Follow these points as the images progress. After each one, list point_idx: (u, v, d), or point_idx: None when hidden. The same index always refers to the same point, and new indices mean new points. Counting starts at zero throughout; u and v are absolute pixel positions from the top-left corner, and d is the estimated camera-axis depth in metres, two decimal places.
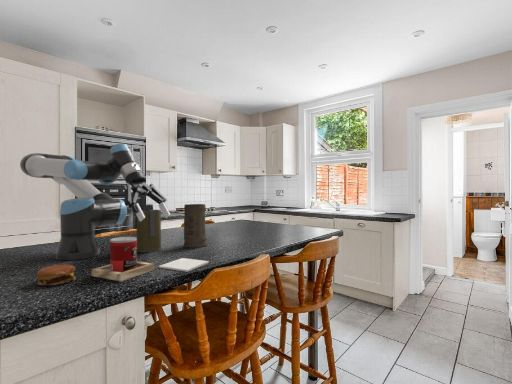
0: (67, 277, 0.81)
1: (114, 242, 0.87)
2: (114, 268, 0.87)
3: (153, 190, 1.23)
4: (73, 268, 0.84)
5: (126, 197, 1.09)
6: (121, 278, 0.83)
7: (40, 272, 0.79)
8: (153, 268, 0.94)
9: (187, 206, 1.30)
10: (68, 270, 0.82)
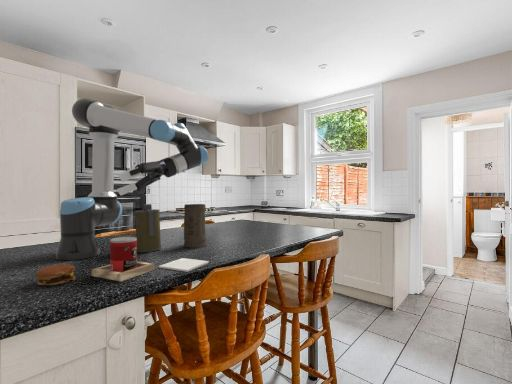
0: (67, 277, 0.81)
1: (114, 242, 0.87)
2: (114, 268, 0.87)
3: None
4: (73, 268, 0.84)
5: (149, 165, 1.00)
6: (121, 278, 0.83)
7: (40, 272, 0.79)
8: (153, 268, 0.94)
9: (187, 206, 1.30)
10: (68, 270, 0.82)
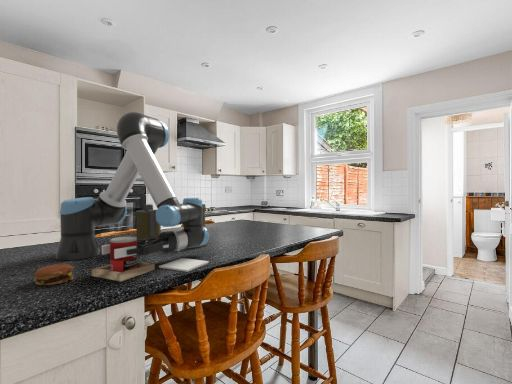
0: (65, 277, 0.81)
1: (114, 242, 0.87)
2: (114, 268, 0.88)
3: None
4: (71, 268, 0.84)
5: (152, 249, 0.91)
6: (121, 278, 0.83)
7: (38, 272, 0.80)
8: (153, 268, 0.94)
9: None
10: (66, 270, 0.82)
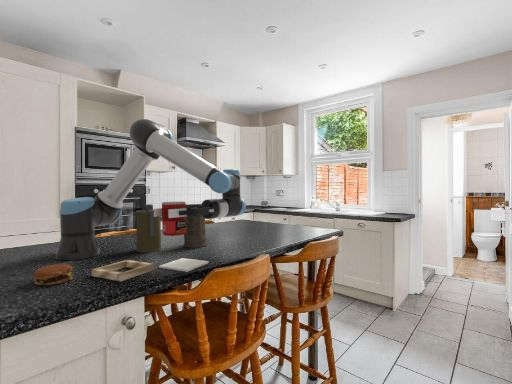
0: (64, 277, 0.81)
1: (167, 203, 0.93)
2: (167, 228, 0.94)
3: None
4: (70, 268, 0.84)
5: (200, 211, 0.97)
6: (121, 278, 0.83)
7: (37, 272, 0.80)
8: (153, 268, 0.94)
9: None
10: (65, 270, 0.82)
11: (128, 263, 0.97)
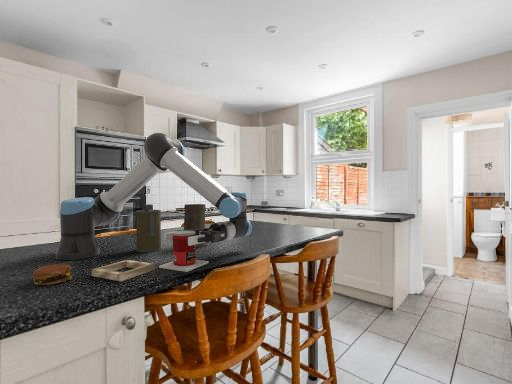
0: (63, 277, 0.82)
1: (178, 235, 0.96)
2: (178, 259, 0.96)
3: None
4: (69, 268, 0.84)
5: (216, 237, 0.99)
6: (121, 278, 0.83)
7: (36, 272, 0.80)
8: (153, 268, 0.94)
9: (187, 206, 1.30)
10: (64, 270, 0.82)
11: (128, 263, 0.97)
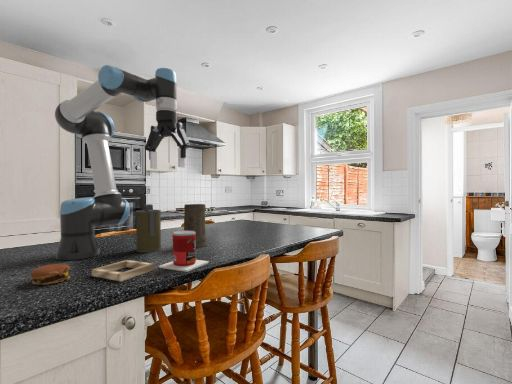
0: (61, 277, 0.82)
1: (178, 235, 0.96)
2: (178, 259, 0.96)
3: None
4: (67, 268, 0.85)
5: None
6: (121, 278, 0.83)
7: (34, 271, 0.80)
8: (153, 268, 0.94)
9: (187, 206, 1.30)
10: (62, 270, 0.82)
11: (128, 263, 0.97)
